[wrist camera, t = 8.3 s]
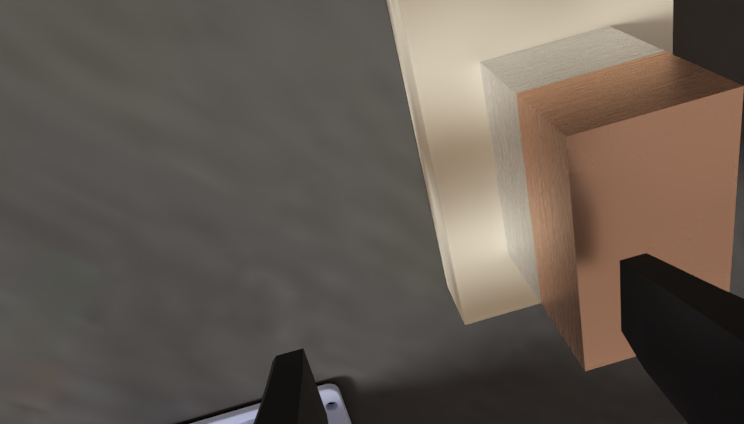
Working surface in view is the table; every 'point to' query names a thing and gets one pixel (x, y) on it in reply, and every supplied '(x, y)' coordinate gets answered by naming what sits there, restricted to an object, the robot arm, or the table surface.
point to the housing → (610, 173)
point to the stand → (486, 120)
